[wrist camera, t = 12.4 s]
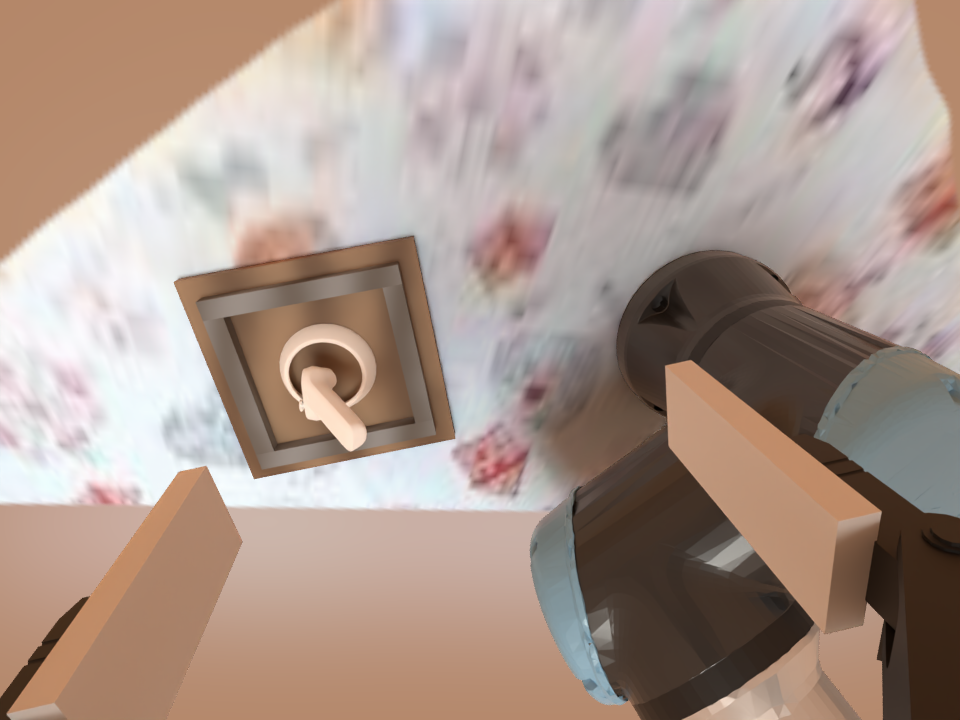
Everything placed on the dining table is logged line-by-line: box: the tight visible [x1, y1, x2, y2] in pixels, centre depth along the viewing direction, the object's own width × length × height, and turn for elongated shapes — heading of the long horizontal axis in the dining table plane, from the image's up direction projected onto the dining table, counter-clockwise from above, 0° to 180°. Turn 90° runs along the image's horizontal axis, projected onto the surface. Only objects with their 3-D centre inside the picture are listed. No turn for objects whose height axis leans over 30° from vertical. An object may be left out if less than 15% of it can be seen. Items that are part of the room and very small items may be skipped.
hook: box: [279, 324, 376, 452], centre depth 40 cm, size 8×12×7 cm
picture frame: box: [174, 236, 455, 479], centre depth 43 cm, size 18×18×2 cm
